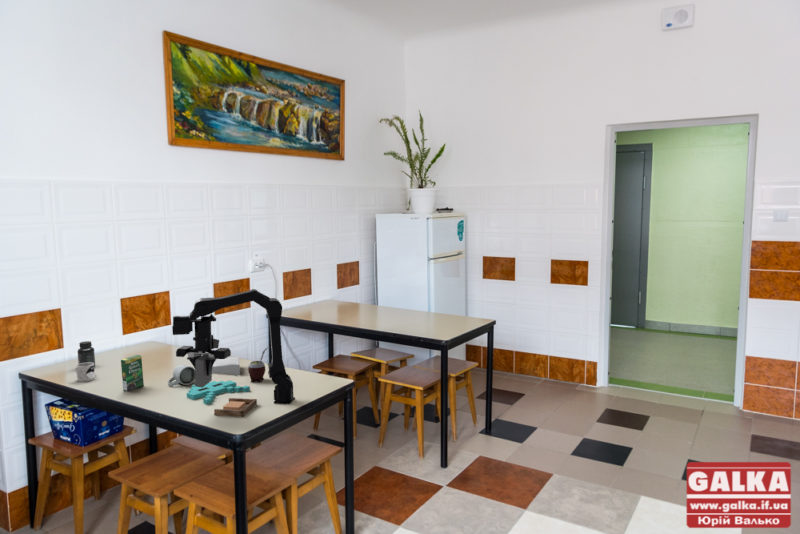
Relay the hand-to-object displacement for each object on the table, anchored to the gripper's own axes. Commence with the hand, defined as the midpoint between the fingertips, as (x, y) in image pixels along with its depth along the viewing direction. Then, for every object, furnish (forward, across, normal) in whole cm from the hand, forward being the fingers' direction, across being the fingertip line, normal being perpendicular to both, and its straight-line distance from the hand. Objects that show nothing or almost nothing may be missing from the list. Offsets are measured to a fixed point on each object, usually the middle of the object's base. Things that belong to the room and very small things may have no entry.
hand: (204, 375), depth 215 cm
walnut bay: (+13, -11, -2) cm, 17 cm away
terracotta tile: (+13, -10, -3) cm, 17 cm away
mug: (+14, +69, -29) cm, 76 cm away
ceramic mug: (+14, +25, -28) cm, 40 cm away
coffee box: (+14, +41, -19) cm, 47 cm away
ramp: (+14, +17, -48) cm, 53 cm away
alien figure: (+14, +6, -19) cm, 24 cm away
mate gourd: (+13, -6, -36) cm, 39 cm away
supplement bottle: (+14, +80, -43) cm, 92 cm away
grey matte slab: (+3, 0, 0) cm, 3 cm away
